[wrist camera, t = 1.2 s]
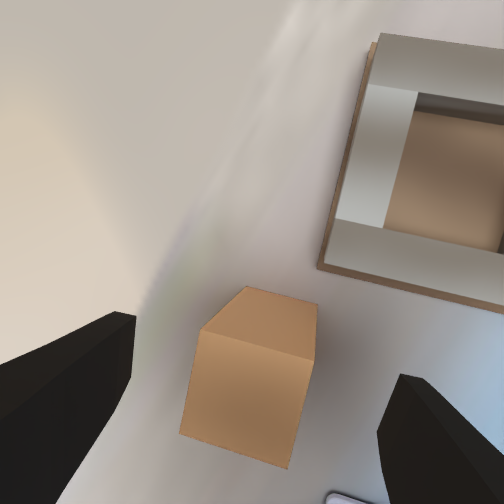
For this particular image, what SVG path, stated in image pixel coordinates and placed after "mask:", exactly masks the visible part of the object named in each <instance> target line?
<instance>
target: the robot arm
mask: <svg viewBox="0 0 504 504" xmlns="http://www.w3.org/2000/svg"><path fill="white" fill-rule="evenodd" d="M135 327H136V316H134V315H130V314H125V313H121V312H116V311H114V312H112V313H110V314H107V315H105V316H104V317H101V318H99V319H97V320H95V321H93V322H91V323H89V324H87V325H85V326H83V327H81V328H79V329H77V330H75V331H73V332H71V333H69V334H67V335H65V336H63V337H61V338H59V339H57V340H55V341H53V342H51V343H49V344H47V345H44V346H42V347H40V348H37V349H35V350H33V351H31V352H28V353H26V354H24V355H21V356H19V357H17V358H15V359H12V360H10V361H8V362H6V363H3V364H1V365H0V504H56V502H57V500H58V499H59V497H60V495H61V494H62V492H63V490H64V489H65V487H66V486H67V484H68V483H69V481H70V480H71V478H72V477H73V475H74V473H75V472H76V470H77V469H78V467H79V466H80V464H81V463H82V461H83V460H84V458H85V456H86V455H87V453H88V452H89V450H90V449H91V447H92V446H93V444H94V443H95V441H96V439H97V438H98V436H99V435H100V433H101V432H102V430H103V429H104V427H105V425H106V424H107V422H108V421H109V419H110V417H111V416H112V414H113V413H114V411H115V409H116V407H117V405H118V403H119V401H120V399H121V397H122V395H123V393H124V391H125V389H126V387H127V385H128V382H129V380H130V378H131V372H132V360H133V349H134V338H135ZM377 438H378V446H379V454H380V461H381V467H382V473H383V477H384V481H385V485H386V489H387V492H388V496H389V500H390V504H504V455H503V454H502V453H501V452H500V451H499V450H497V449H496V448H495V447H494V446H493V445H492V444H491V443H490V442H489V441H488V440H487V439H486V438H485V437H484V436H483V435H482V434H481V433H480V432H479V431H478V430H477V429H476V428H475V427H474V426H473V425H472V424H470V423H469V422H468V421H467V420H466V419H465V418H464V417H463V416H462V415H461V414H460V413H459V412H458V411H457V410H456V409H455V408H454V407H453V406H452V405H451V404H450V403H449V402H448V401H447V400H446V399H445V398H444V397H443V396H442V395H441V394H440V393H439V392H438V391H437V390H436V389H435V388H433V387H432V386H431V385H430V384H429V383H428V382H427V381H425V380H424V379H423V378H418V377H414V376H409V375H405V374H400V375H399V378H398V380H397V383H396V385H395V388H394V390H393V393H392V395H391V398H390V400H389V403H388V405H387V408H386V410H385V413H384V415H383V417H382V420H381V422H380V425H379V427H378V430H377ZM325 504H367V503H364V502H361V501H358V500H355V499H352V498H349V497H346V496H343V495H340V494H335V493H333V494H330V495H329V496H328V497H327V499H326V503H325Z"/></svg>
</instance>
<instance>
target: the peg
mask: <svg viewBox="0 0 504 504" xmlns="http://www.w3.org/2000/svg"><path fill="white" fill-rule="evenodd" d="M317 306H318V304H314V303H310V302H306V301H302V300H298V299H294V298H290V297H286V296H283V295H279V294H275V293H271V292H267V291H263V290H259V289H255V288H251V287H247V286H246V287H245V288H244V289H243V290H242V291H241V292H240V293H239V294H237V295H236V296H235V297H234V298H233V299H232V300H231V301H230V302H229V303H228V304H227V305H226V306H225V307H224V308H223V309H221V310H220V311H219V312H218V313H217V314H216V315H215V316H214V317H213V318H212V319H211V320H210V321H209V322H208V323H206V324H205V325H204V326H203V327H202V328H201V329H200V333H199V338H198V343H197V348H196V353H195V358H194V363H193V367H192V372H191V377H190V382H189V387H188V392H187V397H186V402H185V407H184V412H183V417H182V421H181V426H180V431H179V434H181V435H184V436H187V437H190V438H193V439H196V440H199V441H202V442H206V443H209V444H212V445H215V446H218V447H221V448H224V449H227V450H230V451H233V452H236V453H239V454H242V455H245V456H248V457H251V458H254V459H257V460H260V461H263V462H266V463H269V464H272V465H275V466H278V467H281V468H284V469H288V465H289V461H290V457H291V453H292V449H293V445H294V441H295V437H296V433H297V429H298V425H299V421H300V417H301V413H302V409H303V405H304V401H305V397H306V393H307V389H308V385H309V381H310V377H311V373H312V369H313V365H314V360H315V342H316V324H317Z"/></svg>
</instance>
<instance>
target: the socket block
mask: <svg viewBox="0 0 504 504" xmlns="http://www.w3.org/2000/svg"><path fill="white" fill-rule="evenodd" d="M317 269H318V270H322V271H326V272H330V273H335V274H339V275H343V276H347V277H351V278H355V279H359V280H364V281H368V282H372V283H376V284H380V285H384V286H389V287H393V288H397V289H401V290H405V291H409V292H413V293H418V294H422V295H426V296H430V297H434V298H438V299H443V300H447V301H451V302H455V303H459V304H463V305H467V306H472V307H476V308H480V309H484V310H488V311H492V312H497V313H501V314H504V49H496V48H489V47H481V46H474V45H467V44H459V43H452V42H445V41H437V40H430V39H423V38H415V37H408V36H401V35H393V34H386V33H380V36H379V39H378V43H375V42H372V44H371V47H370V51H369V55H368V59H367V63H366V67H365V71H364V75H363V79H362V84H361V88H360V92H359V96H358V100H357V104H356V108H355V112H354V116H353V121H352V125H351V129H350V133H349V137H348V141H347V145H346V149H345V154H344V158H343V162H342V166H341V170H340V174H339V178H338V182H337V186H336V191H335V195H334V199H333V203H332V207H331V211H330V215H329V219H328V224H327V228H326V232H325V236H324V240H323V244H322V248H321V252H320V257H319V261H318V265H317Z"/></svg>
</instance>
